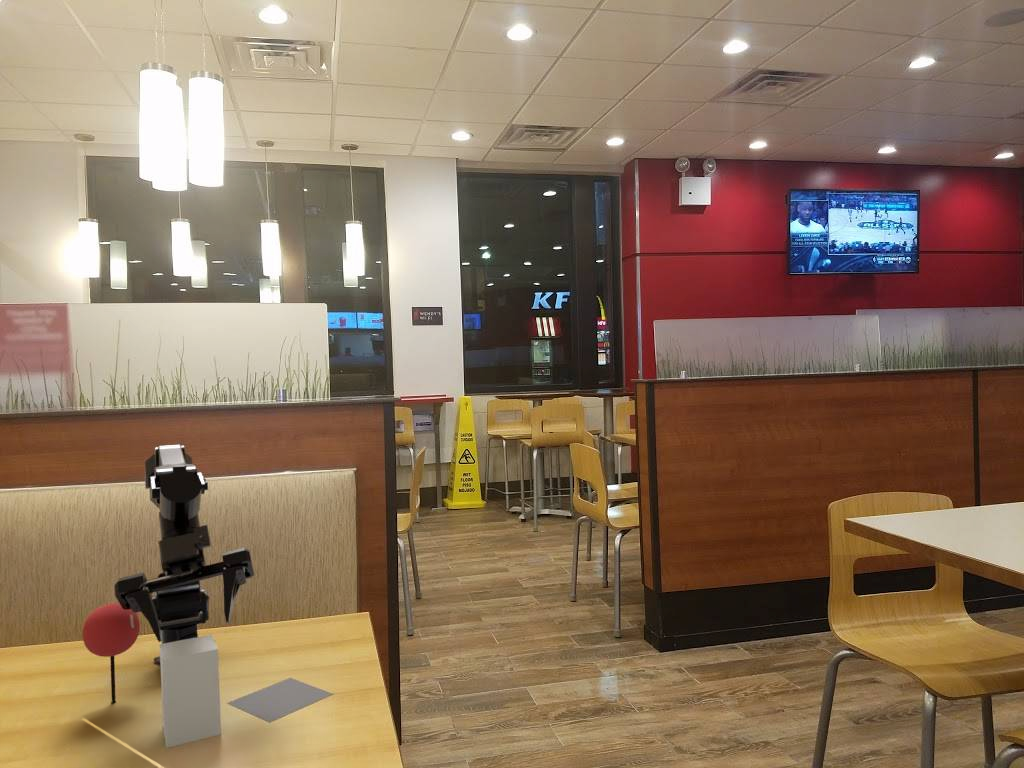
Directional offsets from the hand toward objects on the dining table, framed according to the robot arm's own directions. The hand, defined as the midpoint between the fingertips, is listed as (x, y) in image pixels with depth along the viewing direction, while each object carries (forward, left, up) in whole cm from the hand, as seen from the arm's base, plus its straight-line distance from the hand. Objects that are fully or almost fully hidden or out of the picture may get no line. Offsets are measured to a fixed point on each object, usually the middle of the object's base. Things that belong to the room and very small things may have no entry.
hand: (194, 631), depth 106 cm
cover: (+4, -3, -12) cm, 14 cm away
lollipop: (-16, -4, -13) cm, 21 cm away
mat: (+6, +10, -12) cm, 17 cm away
